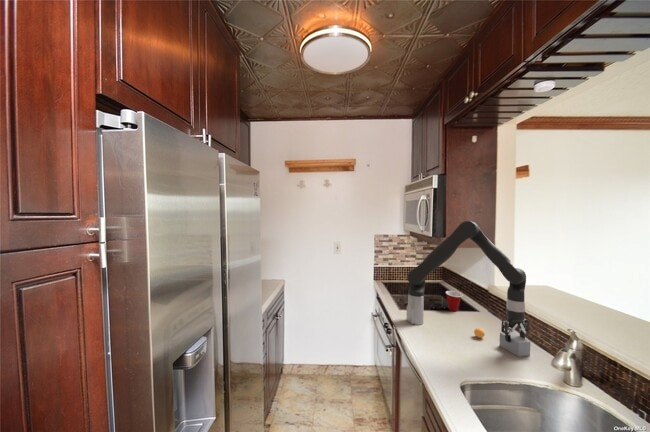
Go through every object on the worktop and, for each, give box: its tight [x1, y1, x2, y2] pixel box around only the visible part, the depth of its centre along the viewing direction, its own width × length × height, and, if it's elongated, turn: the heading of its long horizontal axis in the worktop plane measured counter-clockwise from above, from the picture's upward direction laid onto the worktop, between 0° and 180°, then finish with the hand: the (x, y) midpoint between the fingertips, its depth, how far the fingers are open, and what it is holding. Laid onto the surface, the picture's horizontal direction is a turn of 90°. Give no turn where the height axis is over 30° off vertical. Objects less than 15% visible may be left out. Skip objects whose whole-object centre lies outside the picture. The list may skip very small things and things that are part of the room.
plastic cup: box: [445, 290, 463, 312], centre depth 187 cm, size 11×11×12 cm
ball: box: [473, 327, 485, 339], centre depth 146 cm, size 5×5×5 cm
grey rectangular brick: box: [499, 332, 531, 358], centre depth 133 cm, size 7×11×7 cm, turn 12°
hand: (515, 340), depth 133 cm, fingers open, 8 cm apart
